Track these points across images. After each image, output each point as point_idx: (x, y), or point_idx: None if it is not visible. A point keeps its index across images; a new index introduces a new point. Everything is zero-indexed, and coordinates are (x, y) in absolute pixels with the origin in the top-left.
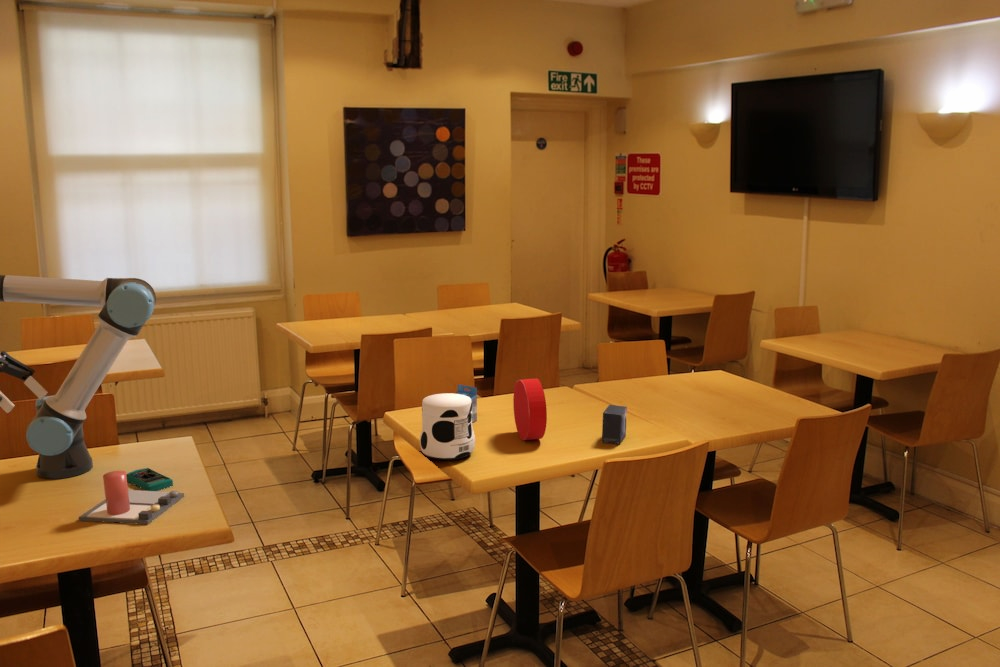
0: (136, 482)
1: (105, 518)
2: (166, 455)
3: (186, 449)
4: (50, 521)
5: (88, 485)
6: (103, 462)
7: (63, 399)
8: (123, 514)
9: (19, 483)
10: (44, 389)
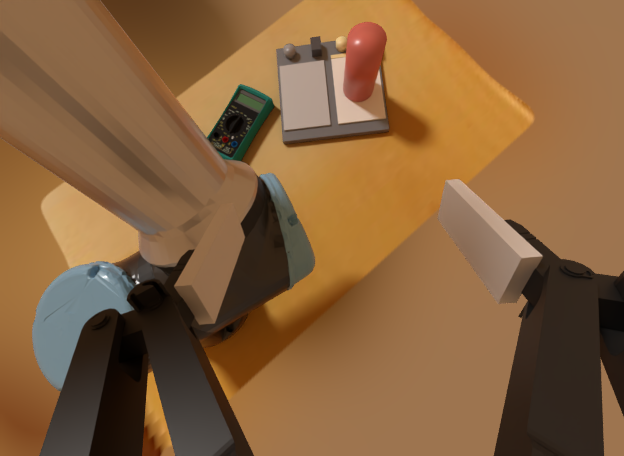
0: (252, 135)
1: (383, 91)
2: None
3: None
4: (400, 168)
5: None
6: None
7: (215, 167)
8: None
9: (277, 332)
10: (217, 214)
